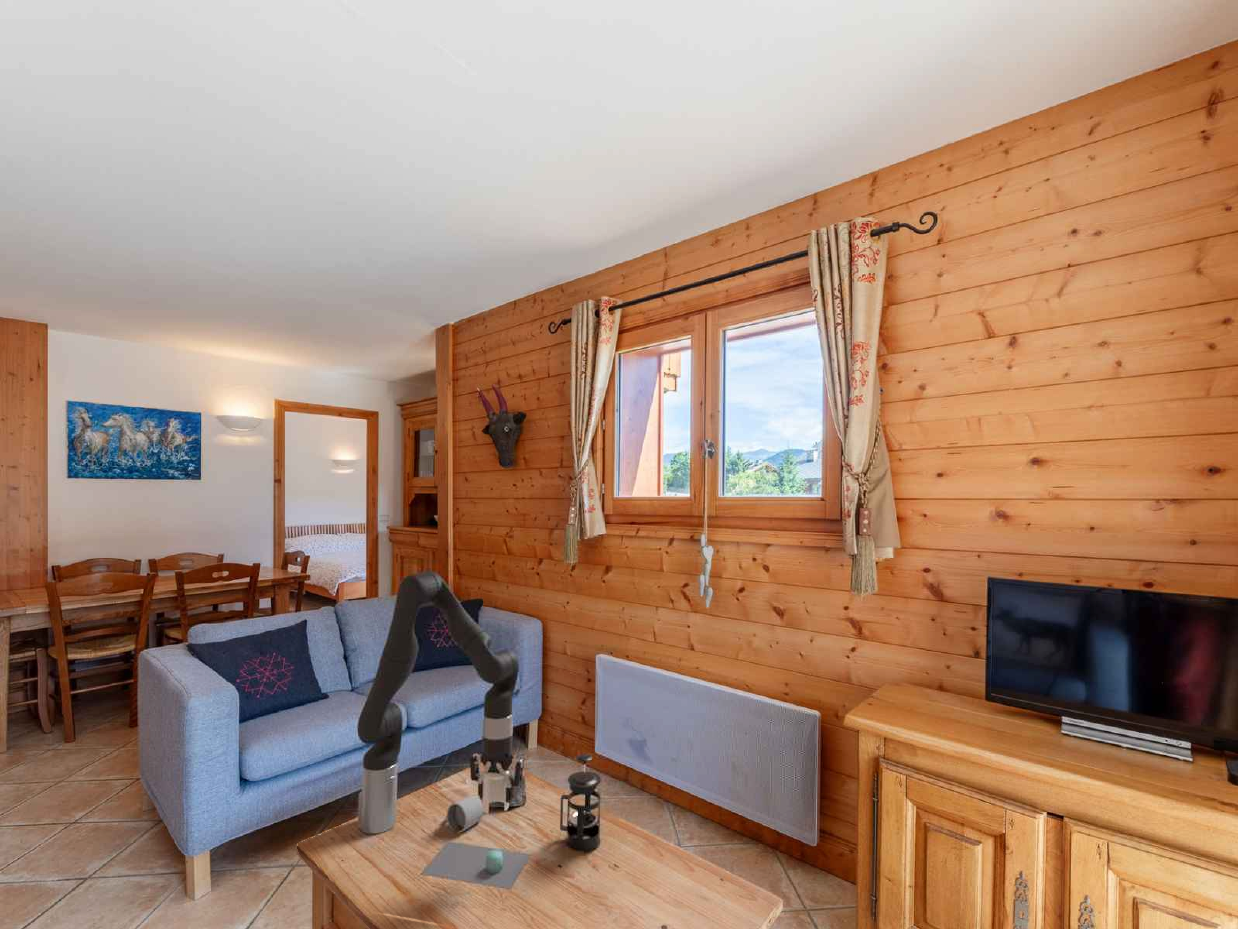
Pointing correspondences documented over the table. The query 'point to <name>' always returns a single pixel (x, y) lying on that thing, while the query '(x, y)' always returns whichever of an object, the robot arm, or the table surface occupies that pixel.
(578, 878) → the table surface
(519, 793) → the mineral rock
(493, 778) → the cover cup
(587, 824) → the french press
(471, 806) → the ceramic mug
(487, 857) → the teal egg-shaped capsule
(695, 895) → the table surface
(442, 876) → the mat
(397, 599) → the robot arm
